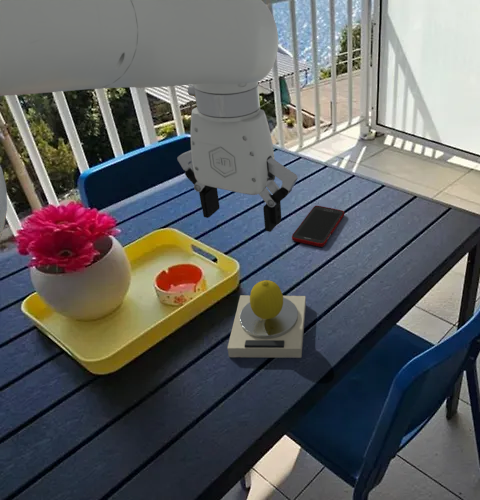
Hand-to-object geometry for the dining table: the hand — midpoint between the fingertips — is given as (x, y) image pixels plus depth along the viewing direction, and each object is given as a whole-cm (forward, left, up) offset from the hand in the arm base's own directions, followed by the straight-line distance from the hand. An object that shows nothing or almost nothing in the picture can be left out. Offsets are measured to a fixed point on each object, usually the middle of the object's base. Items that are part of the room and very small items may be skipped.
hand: (241, 219), depth 70 cm
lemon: (+4, -1, -22) cm, 23 cm away
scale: (+4, -1, -25) cm, 25 cm away
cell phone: (+37, +3, -25) cm, 45 cm away
